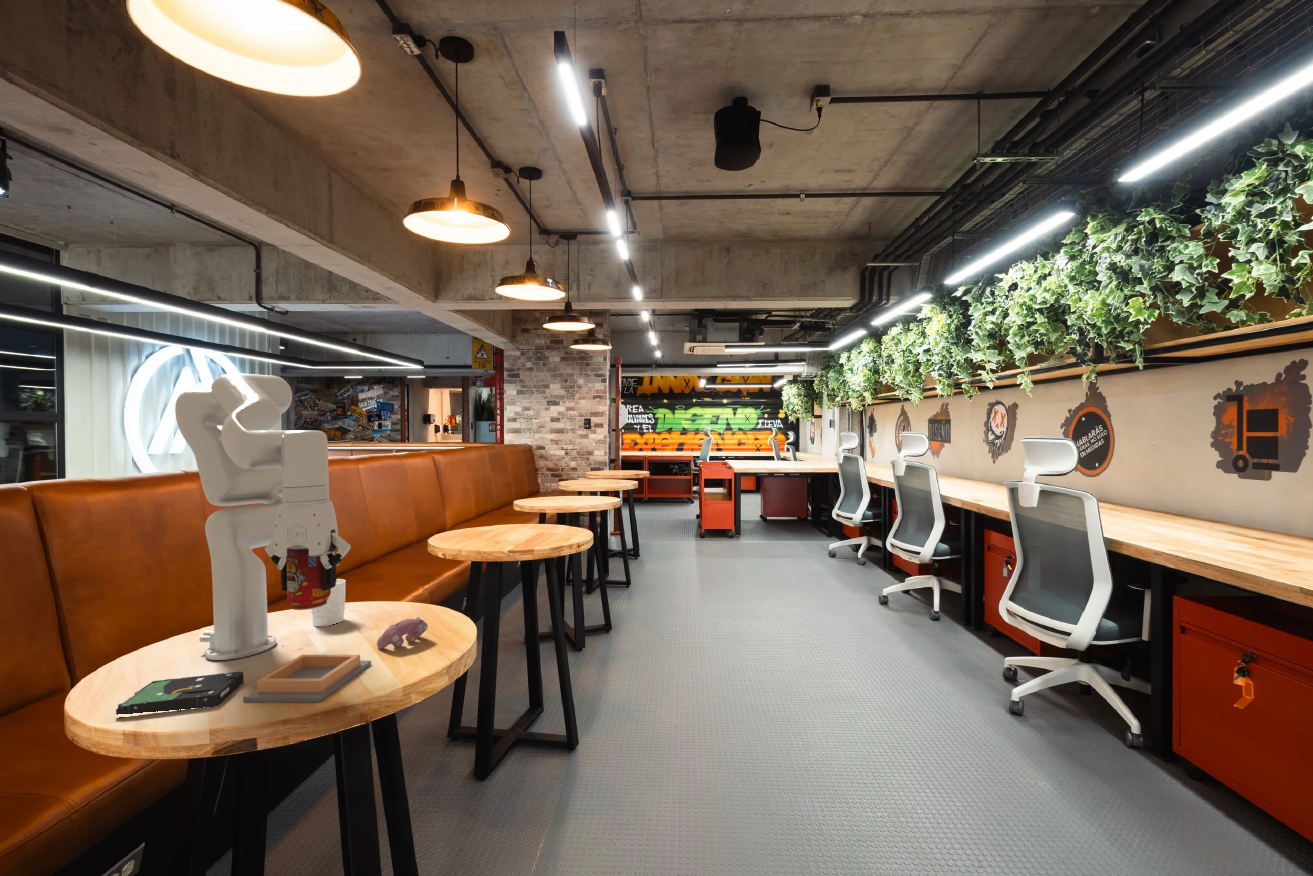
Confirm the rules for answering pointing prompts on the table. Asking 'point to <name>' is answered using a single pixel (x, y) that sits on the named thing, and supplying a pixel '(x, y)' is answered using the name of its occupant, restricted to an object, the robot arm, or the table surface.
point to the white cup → (331, 607)
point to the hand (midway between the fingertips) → (309, 588)
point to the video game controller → (402, 632)
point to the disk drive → (182, 693)
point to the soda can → (304, 579)
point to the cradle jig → (307, 678)
